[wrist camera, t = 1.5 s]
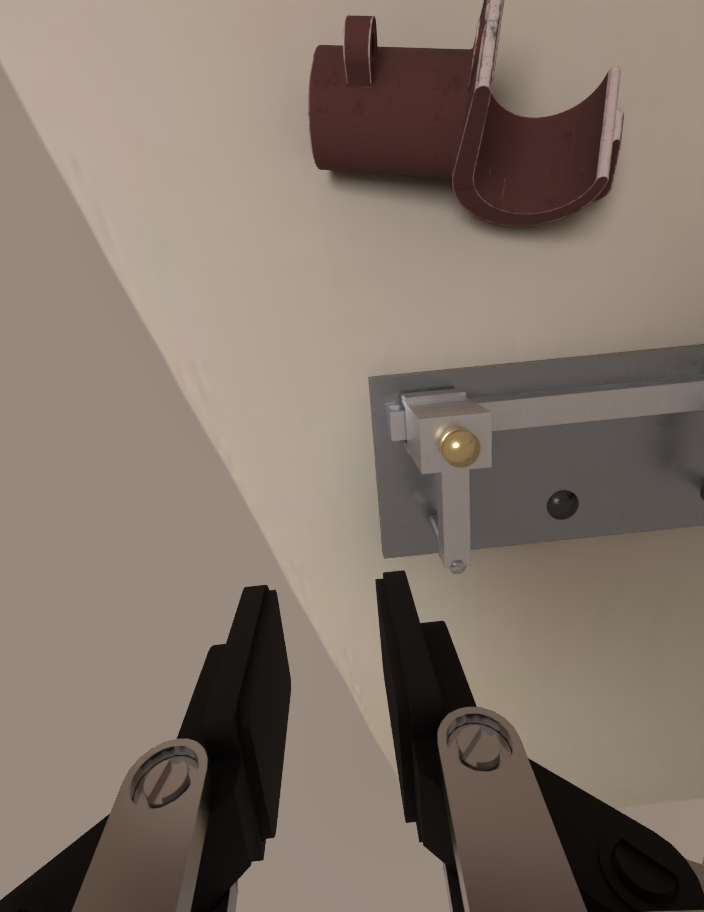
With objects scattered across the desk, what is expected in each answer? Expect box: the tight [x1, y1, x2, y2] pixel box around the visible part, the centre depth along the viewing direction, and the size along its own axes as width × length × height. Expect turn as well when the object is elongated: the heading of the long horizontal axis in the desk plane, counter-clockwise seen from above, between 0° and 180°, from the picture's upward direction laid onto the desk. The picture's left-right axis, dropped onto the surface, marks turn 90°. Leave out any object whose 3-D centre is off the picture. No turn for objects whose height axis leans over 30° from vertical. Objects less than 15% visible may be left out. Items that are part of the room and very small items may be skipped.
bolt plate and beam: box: [368, 344, 704, 558], centre depth 31 cm, size 30×14×8 cm, turn 95°
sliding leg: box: [401, 388, 492, 574], centre depth 29 cm, size 4×10×8 cm, turn 5°
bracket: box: [308, 0, 624, 226], centre depth 24 cm, size 6×17×10 cm, turn 84°
